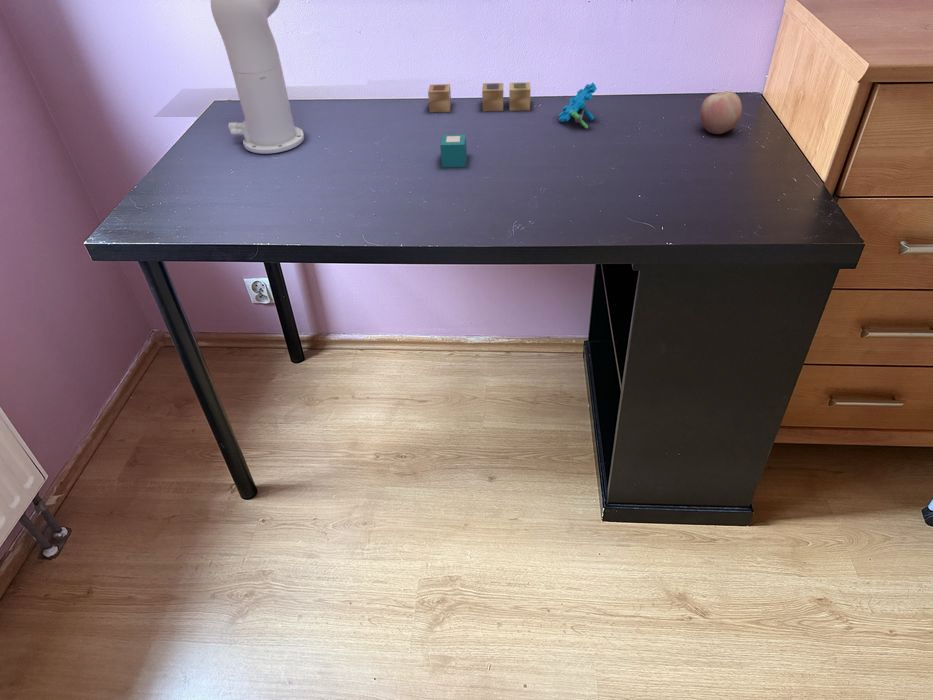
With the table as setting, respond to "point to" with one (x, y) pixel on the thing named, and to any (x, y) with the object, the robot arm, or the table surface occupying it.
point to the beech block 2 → (492, 96)
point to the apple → (721, 112)
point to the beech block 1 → (439, 98)
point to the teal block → (453, 150)
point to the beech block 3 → (519, 96)
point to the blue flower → (579, 106)
